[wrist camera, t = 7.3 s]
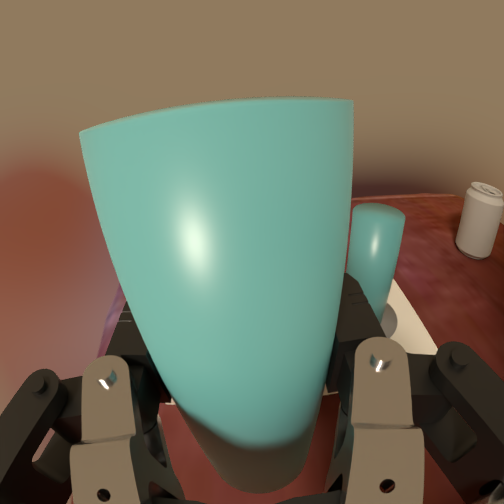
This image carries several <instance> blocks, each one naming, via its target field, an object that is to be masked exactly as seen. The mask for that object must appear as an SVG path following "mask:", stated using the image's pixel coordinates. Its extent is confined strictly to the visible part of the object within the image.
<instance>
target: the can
mask: <svg viewBox="0 0 504 504" xmlns="http://www.w3.org/2000/svg"><path fill="white" fill-rule="evenodd" d="M471 185H472V187H470V188H469V189H468V190H467V191H466V197H465V202H464V207H463V211H462V216H461V220H460V225H459V229H458V233H457V237H456V244H457V246H458V248H459V250H460V251H461V252H462V253H463V254H465V255H466V256H468V257H470V258H473V259H484V258H485V257H488V256H489V255H490V253H491V250H492V247H493V244H494V241H495V237H496V234H497V231H498V227H499V223H500V219H501V216H502V212H503V207H504V202H503V200H502V196H503V194H502V192H501V191H500V190H498V189H496V188H494V187H492V186H490V185H487V184H484V183H480V182H473V183H472V184H471Z"/></svg>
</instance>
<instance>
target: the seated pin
mask: <svg viewBox="0 0 504 504" xmlns="http://www.w3.org/2000/svg"><path fill="white" fill-rule="evenodd" d="M404 222H405V216H404V214H403V213H402V212H401V211H399V210H398V209H396V208H394V207H391V206H388V205H384V204H378V203H364V204H360V205H357V206H355V207H354V209H353V216H352V227H351V236H350V246H349V254H348V262H347V270H346V273H348V274H349V275H351V276H352V277H353V278H354V279H356V280H357V281H358V282H359V284H360V286H361V288H362V290H363V292H364V294H365V296H366V297H367V299H368V303H370V305H371V307H372V309H373V311H374V313H375V315H376V317H377V319H378V321H379V323H380V324H381V321H382V318H383V314H384V311H385V307H386V304H387V300H388V296H389V292H390V288H391V284H392V280H393V276H394V272H395V267H396V263H397V258H398V254H399V249H400V244H401V239H402V233H403V228H404Z"/></svg>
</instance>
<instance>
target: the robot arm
mask: <svg viewBox="0 0 504 504" xmlns="http://www.w3.org/2000/svg"><path fill="white" fill-rule="evenodd" d="M122 311H123V313H121V315H120V318H119V322H118V323H117V325H116V328H115V330H114V333H113V336H112V338H111V341H110V344H109V346H108V349H107V352H106V354H105V356H103V357H100V358H97V359H96V360H94V361H93V362H91V363H90V364H89V365H88V366H87V368H86V369H85V371H84V374H83V376H79V377H74V378H69V379H65V380H60V379H59V377H58V376H57V375H56V374H55V373H54V372H53V371H52V370H49V369H41V370H37V371H35V372H34V373H32V374H31V375H30V376H29V377H28V378H27V379H26V380H25V382H24V383H23V384H22V386H21V387H20V389H19V390H18V391H17V393H16V394H15V395H14V397H13V398H12V400H11V401H10V403H9V404H8V405H7V407H6V408H5V410H4V411H3V413H2V414H1V416H0V504H66V503H67V501H68V499H69V497H70V495H71V493H73V501H74V504H205V503H202V502H198V501H189V500H186V499H185V496H184V493H183V490H182V487H181V485H180V483H179V481H178V479H177V477H176V476H175V474H174V471H173V469H172V465H171V461H170V458H169V454H168V449H167V445H166V441H165V437H164V432H163V428H162V423H161V419H160V416H159V414H158V410H159V404H160V403H171V399H172V397H171V395H170V393H169V391H168V389H167V388H166V386H165V384H164V382H163V380H162V378H161V376H160V374H159V372H158V370H157V368H156V366H155V364H154V362H153V360H152V357H151V355H150V353H149V351H148V349H147V347H146V345H145V342H144V340H143V338H142V336H141V333H140V331H139V329H138V327H137V324H136V322H135V320H134V317H133V315H132V312H131V310H130V307H129V305H128V302H127V301H126V303H125V306H124V308H123V310H122ZM325 384H326V388H327V392H328V393H332V392H338V393H339V397H340V404H339V408H338V416H337V424H336V432H335V439H334V446H333V453H332V459H331V463H330V467H329V470H328V474H327V478H326V482H325V486H324V491H323V493H321V494H316V495H309V496H303V497H295V498H292V499H289V500H286V501H283V502H280V503H276V504H423V490H424V447H425V448H426V449H427V451H428V452H429V453H430V455H431V456H432V458H433V459H434V460H435V462H436V463H437V464H438V466H439V467H440V468H441V470H442V471H443V473H444V474H445V475H446V477H447V478H448V479H449V481H450V482H451V484H452V485H453V486H454V488H455V489H456V491H457V492H458V493H459V495H460V496H461V497H462V499H463V500H464V502H465V503H466V504H504V382H503V381H502V380H501V378H500V377H499V376H498V375H497V374H496V373H495V372H494V371H493V370H492V369H491V368H490V367H489V366H488V365H487V364H486V363H485V362H484V361H483V360H482V359H481V358H480V357H479V356H478V355H477V354H476V353H475V352H474V351H473V350H472V349H471V348H470V347H469V346H467V345H465V344H463V343H460V342H447V343H445V344H443V345H442V346H440V348H439V349H438V351H437V352H436V354H435V355H429V354H413V353H407V352H406V351H405V350H404V348H403V347H402V346H401V345H400V344H399V343H397V342H396V341H394V340H392V339H390V338H387V337H386V335H385V333H384V331H383V329H382V327H381V325H380V323H379V321H378V319H377V317H376V315H375V313H374V311H373V309H372V307H371V305H370V303H368V299H367V297H366V296H365V294H364V292H363V290H362V288H361V286H360V284H359V282H358V281H357V280H356V279H354V278H353V277H352V276H351V275H349V274H348V273H344V277H343V285H342V292H341V299H340V306H339V313H338V319H337V325H336V331H335V337H334V342H333V348H332V353H331V359H330V364H329V369H328V374H327V378H326V383H325ZM453 407H454V408H455V409H456V410H457V411H456V410H455V409H454V408H453ZM459 414H460V415H461V416H462V417H461V416H460V415H459ZM463 419H464V420H465V421H466V422H467V423H466V422H465V421H464V420H463ZM468 425H469V426H470V427H471V428H470V427H469V426H468ZM50 428H52V429H53V430H54V431H55V433H54V435H53V436H52V438H51V440H50V442H49V443H48V445H47V446H46V448H45V450H44V451H43V453H42V455H41V457H40V458H39V459H38V460H37V461H35V462H32V458H33V455H34V454H35V452H36V450H37V449H38V447H39V445H40V444H41V442H42V440H43V439H44V437H45V436H46V434H47V432H48V431H49V429H50ZM472 430H473V431H474V432H475V433H474V432H473V431H472ZM382 489H384V490H385V493H383V492H381V490H382Z"/></svg>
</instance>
